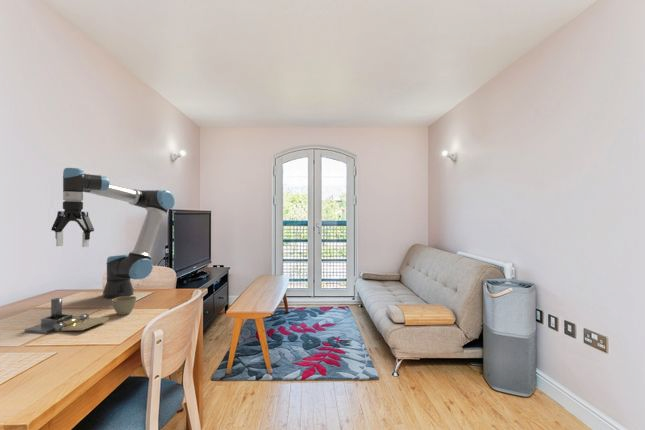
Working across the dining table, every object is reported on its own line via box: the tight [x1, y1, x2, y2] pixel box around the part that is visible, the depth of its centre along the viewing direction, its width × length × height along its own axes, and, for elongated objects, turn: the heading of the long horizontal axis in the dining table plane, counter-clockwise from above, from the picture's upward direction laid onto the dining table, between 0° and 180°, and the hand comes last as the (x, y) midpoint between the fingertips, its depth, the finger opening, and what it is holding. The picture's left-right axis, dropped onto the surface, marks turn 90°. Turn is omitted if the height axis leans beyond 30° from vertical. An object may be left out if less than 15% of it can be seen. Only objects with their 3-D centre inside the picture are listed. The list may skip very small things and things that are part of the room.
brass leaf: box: [60, 315, 110, 332], centre depth 135 cm, size 13×13×3 cm
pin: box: [50, 297, 63, 319], centre depth 136 cm, size 4×4×10 cm
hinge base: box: [24, 313, 90, 334], centre depth 136 cm, size 18×13×4 cm
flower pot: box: [111, 295, 137, 316], centre depth 153 cm, size 10×10×7 cm
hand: (72, 246), depth 151 cm, fingers open, 13 cm apart
